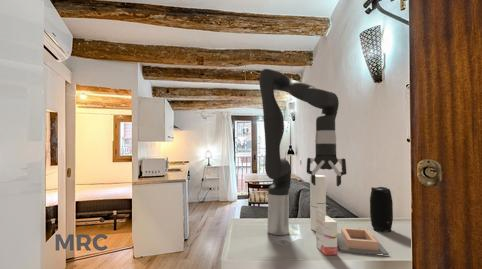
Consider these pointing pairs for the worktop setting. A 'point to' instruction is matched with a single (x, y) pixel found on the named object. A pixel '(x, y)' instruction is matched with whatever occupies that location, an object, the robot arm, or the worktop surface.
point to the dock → (359, 242)
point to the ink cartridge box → (326, 234)
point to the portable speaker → (381, 209)
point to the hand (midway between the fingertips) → (326, 185)
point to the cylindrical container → (317, 198)
